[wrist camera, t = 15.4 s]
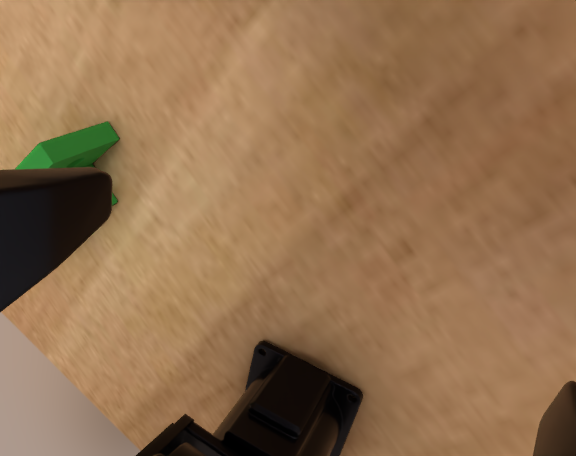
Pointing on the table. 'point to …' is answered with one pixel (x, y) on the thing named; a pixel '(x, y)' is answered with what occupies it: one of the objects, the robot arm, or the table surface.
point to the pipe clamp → (72, 149)
